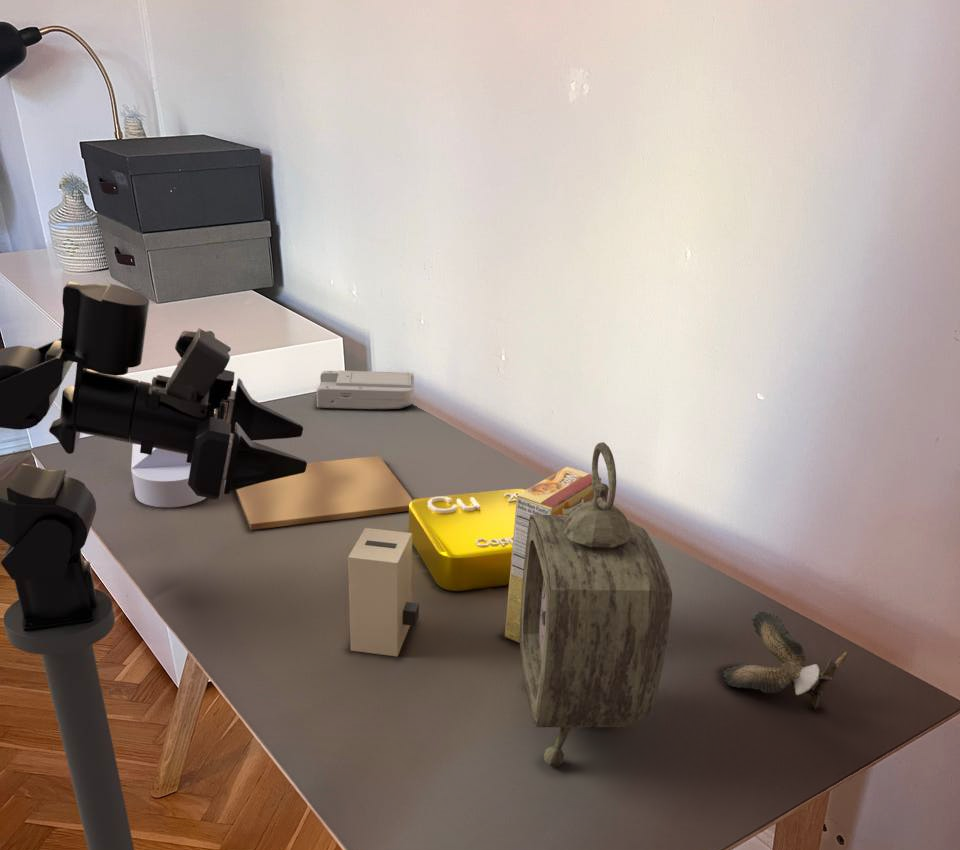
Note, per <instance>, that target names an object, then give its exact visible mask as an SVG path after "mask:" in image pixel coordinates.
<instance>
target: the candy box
mask: <svg viewBox="0 0 960 850" xmlns="http://www.w3.org/2000/svg"><path fill="white" fill-rule="evenodd" d="M599 480H600V483H602V477H600V476H599ZM524 490H525V491H523V492H521V493H520V494H518V495H517V499H516V512H515V523H514V535H513V546H512V557H511V570H510V581H509V585H508V592H507V604H506V616H505V625H504V626H505V628H504V637H505V638H506V639H509V640H510V641H513V642H516V643H518V644H520V614H521V598H522V584H523V571H524V561H525V551H526V541H527V533H528V525H529V520H530V515H569V514H570V512H571V511H572V510H573V509H574V508H575V507H577V506H578V505H580V504H583V503H586V502H589V501H593V499H594V491H593V485H592V473H589V472H585V471H583V470H579V469H577V468H573V467H569V466H565V467H564V468H562V469H560V470H558V471H557V472H554V473H553V474H551V475H550V476H548V477H547V478H545V479H542V480H541V481H539V482H537V483H536V484H534V485H532V486H530V487H528V488H527V489H524Z"/></svg>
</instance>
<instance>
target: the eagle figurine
mask: <svg viewBox="0 0 960 850" xmlns="http://www.w3.org/2000/svg"><path fill="white" fill-rule="evenodd" d="M751 621H752V627H754V632H755V633H756V634H757V636H758V637H759V638H760V639H761V641H762V642H763V644H764V646H765V648H766V649H767V651H768V652H770V653H771V654H772V655H773V656H774V657H776V659H778V660H779V661H780V663H781V664H782V665H780V666H778V667H777V666H765V665H759V664H758V665H756V664H750V665H749V664H748V665H747V664H739V665H734V666H733V667H727V668H726V670H724V671H723V673H724V674H722V675H723V678H725V679H724V680H725V682H727V683H726V684H727V685H728V686H730V687H733V688H737V689H742V688H744V689H747V690H748V689H752V690H756V691H759V690H760V691H761V692H762V693H764V694H772V693H773V694H778V693H781V692H782V691H783V689H786V688H787V686H791V685H792V686H794V691H795V692H794V693H795V695H796V696H800V695H802V694H807V695H810V700H811V705H812V707H813V708H814V709H815V710H816V709H818V707H819V704H820V700H821V697H824V696H825V692H826V689H827V688H828V686H829V685H830V683H831V681H833V679H834V677H835V676H836V674H837V673H838V671H839V670H840V668H841V666H842V665H843V663H844V662H845V661H846V658H847V656H848V655H849V652H848V651H845V652H843V653H842V655H840V656H839V657H838V658H837V660H836V661H834V660H833V658H830V659H829V660H828V662H827V664H826V667H825V669H824V671H822V672H820V667H819V664H817V663H815V664H810V665H804V664H805V661H806V659H807V658H806V657H807V654H806V653H805V650H804V648H803V646H802V644H801V642H800V641H799V640H796V639H795V638H793V637H792V636H791V634H790V633H789V630H788V629H787V628H786V627H785V624H783V620H782V618H781V617H779V615H777V614H775V613H772V612H771V611H770V612H769V611H766V610H764V609H762V610H761V611H760V610H759V611H757V612H756V613H755V614H754V616H753V617H752V618H751ZM818 680H819V681H818ZM816 683H817V684H816ZM813 686H815V687H814V689H812V688H813Z"/></svg>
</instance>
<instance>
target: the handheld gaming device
mask: <svg viewBox="0 0 960 850" xmlns="http://www.w3.org/2000/svg"><path fill="white" fill-rule="evenodd" d="M319 378H320V379H319V380H320V383H319V385H318V386H317V388H316V391H315V392H316V407H317V408H319V409H344V410H345V409H347V410H348V409H349V410H350V409H351V410H391V409H393V410H394V409H396V410H401V409H403V408H406V407H410V406H411V405H413V404H414V400H415V399H414V398H415V397H414V396H415V374H414V373H413V372H399V371H394V372H393V371H366V370H323V371H321V373H320V377H319Z"/></svg>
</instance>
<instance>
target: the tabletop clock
mask: <svg viewBox="0 0 960 850" xmlns="http://www.w3.org/2000/svg"><path fill="white" fill-rule="evenodd" d="M600 455H602V457H603V460H604V463H605V466H606V471H607V478H608V479H607V480H608V481H607V482H608V485H607V484H606V483H604V482H601V483H600V480H599V477H600V476H599V475H600V474H599V458H600ZM591 475H592V485H593V491H594V499H593V501H589V502H586V503H583V504H580V505H578V506H577V507H575V508H574V509H573V510H572V511H571V512H570V514H569V515H530V520H529V525H528V533H527V541H526V551H525V561H524V571H523V584H522V598H521V614H520V643H519V649H520V650H519V651H520V660H521V661H520V662H521V666H522V672H523V679H524V686H525V692H526V695H527V701H528V705H529V709H530V714H531V717H532V720H533V724H534V725H535V728H559V730H558V731H559V732H558V735H557V737H556V740H555V743H554V745H551V746H549V747H547V748H546V749H545V751H544V754H543V760H544V762H545V764H547V765H548V766H550V767H558V766H560V765H561V764H562V763H563V761H564V758H565V757H564V756H565V754H564V751H563V749H562V747H563V745H564V743H565V742H566V739H567V738H568V736H569V734H570V732H571V730H572V729H573V728H629V727H631V726H633V725H634V724H635V723H637V722H639V721H640V720H642V719H644V718H645V717H647V716H649V715H650V714H651V713H652V711H653V708H654V705H655V702H656V699H657V694H658V690H659V685H660V681H661V676H662V670H663V666H664V661H665V655H666V649H667V643H668V637H669V631H670V626H671V625H670V623H671V617H672V604H673V592H672V590H673V589H672V585H671V581H670V578H669V575H668V572H667V569H666V567H665V565H664V563H663V561H662V558H661V555H660V553H659V552H658V549H657V547H656V546H655V544H654V542H653V540H652V538H651V536H650V535H649V534H648V532H647V530H646V529H645V528H643V527H641V526H639V525H638V524H636V523H634V522H632V521H631V520H629V519H628V518H627V516H626V515H625V514H624V513H623V512H622V511H621V510H620V509H619V508H618V507H617V506H615V505H614V503H615V499H616V491H617V469H616V462H615V457H614V455H613V452H612V450H611V449H610V447H609V445H607V443H605V442H604V441H603V442H602V441H601V442H598V443H597V444H596V445H595V447H594V450H593V453H592V461H591Z"/></svg>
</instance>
